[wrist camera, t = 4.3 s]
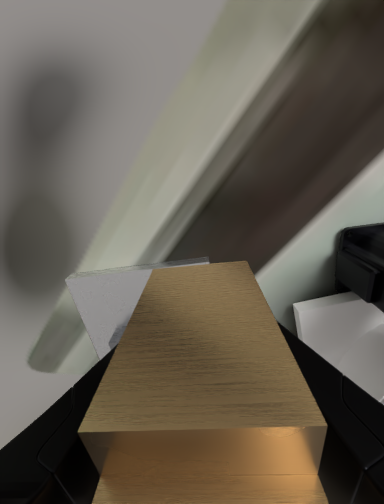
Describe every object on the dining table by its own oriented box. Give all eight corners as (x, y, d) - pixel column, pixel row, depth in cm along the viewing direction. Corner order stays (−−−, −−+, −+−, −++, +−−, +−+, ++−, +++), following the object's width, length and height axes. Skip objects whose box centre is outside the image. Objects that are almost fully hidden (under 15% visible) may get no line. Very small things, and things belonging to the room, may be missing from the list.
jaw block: (246, 260, 9) (380, 532, 2) (248, 334, 10) (330, 625, 4) (153, 269, 9) (32, 529, 3) (167, 339, 10) (115, 616, 4)
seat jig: (208, 256, 20) (209, 271, 17) (228, 405, 28) (231, 431, 25) (72, 273, 21) (52, 289, 18) (129, 410, 29) (121, 436, 27)
